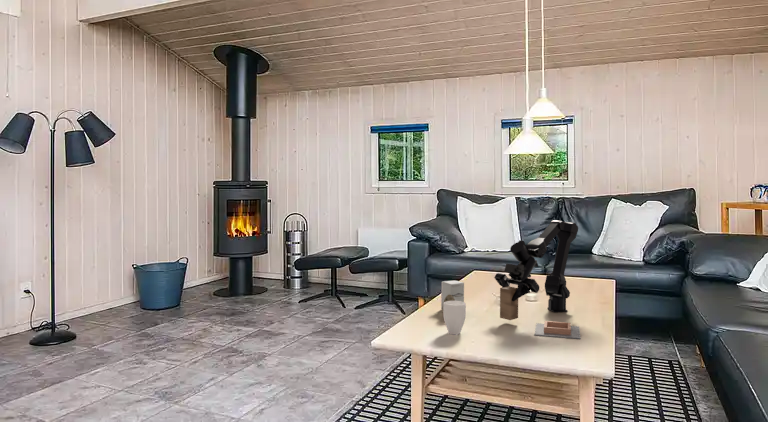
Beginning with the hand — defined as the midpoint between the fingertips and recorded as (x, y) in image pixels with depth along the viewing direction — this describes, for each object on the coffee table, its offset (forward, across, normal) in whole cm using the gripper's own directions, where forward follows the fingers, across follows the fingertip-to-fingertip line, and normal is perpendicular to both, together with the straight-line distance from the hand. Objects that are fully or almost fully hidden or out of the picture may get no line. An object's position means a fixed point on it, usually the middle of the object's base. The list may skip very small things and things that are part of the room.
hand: (506, 299), depth 213 cm
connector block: (+4, 0, +6) cm, 8 cm away
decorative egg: (+15, -21, 0) cm, 26 cm away
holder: (+2, +18, +12) cm, 22 cm away
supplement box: (+7, -30, +7) cm, 31 cm away
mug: (+23, -6, -9) cm, 26 cm away
